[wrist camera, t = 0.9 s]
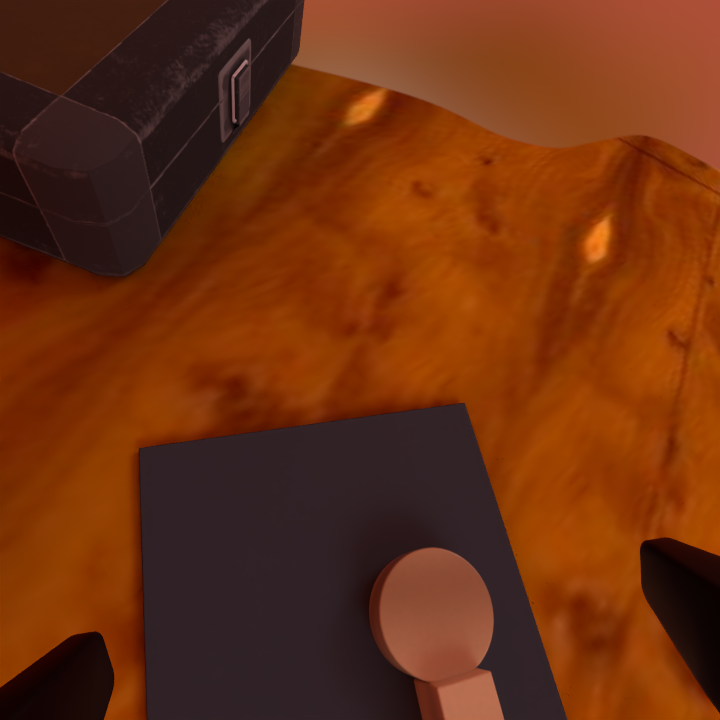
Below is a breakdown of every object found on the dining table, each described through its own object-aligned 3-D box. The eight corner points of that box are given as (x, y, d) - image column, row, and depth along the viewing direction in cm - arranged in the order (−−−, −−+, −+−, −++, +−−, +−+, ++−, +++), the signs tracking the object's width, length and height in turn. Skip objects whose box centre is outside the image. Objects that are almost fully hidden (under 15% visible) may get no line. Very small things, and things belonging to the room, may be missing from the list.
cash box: (142, 298, 25) (105, 184, 18) (-241, 146, 25) (-423, -29, 18) (313, 53, 38) (329, -69, 31) (61, -53, 37) (22, -201, 30)
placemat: (646, 979, 17) (654, 986, 17) (165, 1255, 13) (163, 1274, 13) (461, 405, 26) (464, 402, 26) (140, 450, 22) (138, 447, 22)
